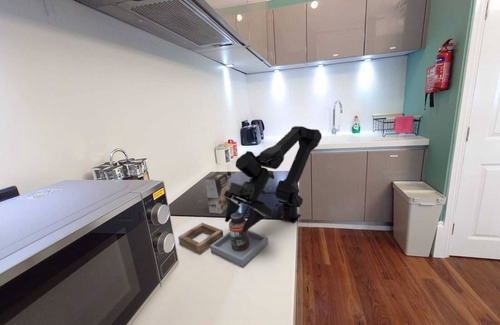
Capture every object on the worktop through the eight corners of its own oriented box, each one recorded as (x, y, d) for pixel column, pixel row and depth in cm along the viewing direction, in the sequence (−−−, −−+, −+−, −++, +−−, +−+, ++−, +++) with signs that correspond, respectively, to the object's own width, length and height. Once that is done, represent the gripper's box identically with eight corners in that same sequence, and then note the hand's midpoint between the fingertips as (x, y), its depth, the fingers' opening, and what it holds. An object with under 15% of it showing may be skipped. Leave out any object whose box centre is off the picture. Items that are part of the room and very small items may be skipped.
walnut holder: (203, 229, 88) (202, 222, 88) (223, 237, 82) (222, 230, 81) (179, 244, 80) (178, 236, 79) (200, 254, 73) (198, 246, 73)
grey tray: (237, 232, 84) (237, 226, 84) (268, 243, 76) (268, 236, 76) (210, 252, 74) (210, 245, 74) (243, 267, 66) (242, 260, 65)
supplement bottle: (245, 238, 79) (242, 209, 76) (252, 248, 74) (249, 216, 71) (229, 244, 77) (225, 213, 74) (235, 254, 71) (231, 221, 69)
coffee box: (221, 214, 100) (217, 179, 96) (209, 212, 102) (204, 178, 98) (230, 205, 108) (227, 173, 104) (218, 204, 110) (215, 172, 106)
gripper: (225, 167, 78) (201, 208, 74) (263, 177, 65) (236, 228, 60) (244, 182, 85) (223, 220, 81) (282, 194, 71) (260, 240, 67)
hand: (234, 226), depth 72 cm, fingers open, 9 cm apart
